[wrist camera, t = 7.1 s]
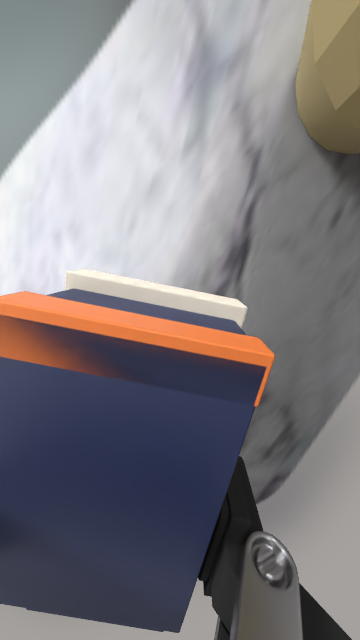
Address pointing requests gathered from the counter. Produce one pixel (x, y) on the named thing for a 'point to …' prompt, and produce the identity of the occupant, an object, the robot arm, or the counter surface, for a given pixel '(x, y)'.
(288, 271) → the counter surface
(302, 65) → the squeeze bottle
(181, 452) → the blue orange block
